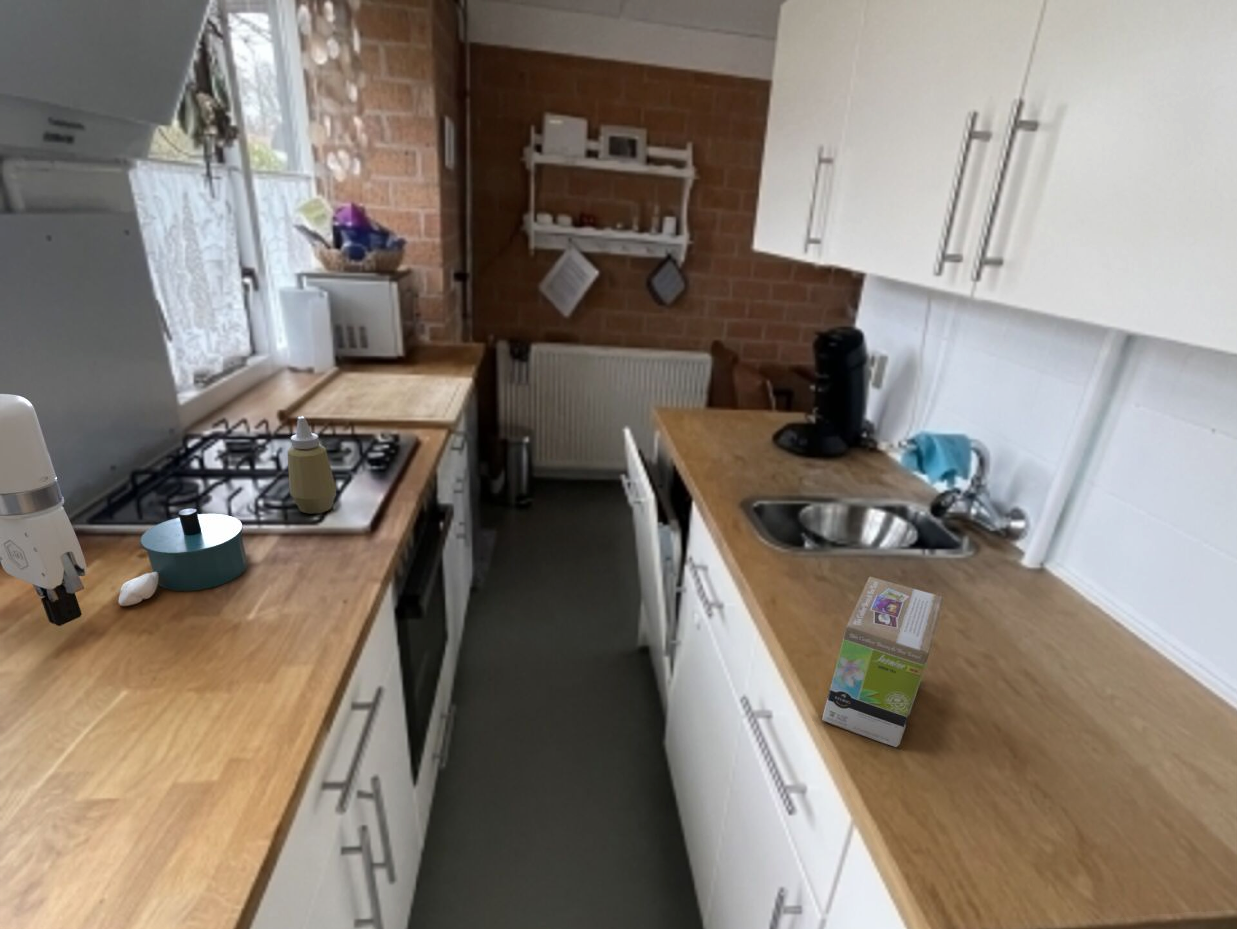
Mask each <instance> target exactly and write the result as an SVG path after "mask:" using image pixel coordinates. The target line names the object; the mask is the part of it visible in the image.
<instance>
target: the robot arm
mask: <svg viewBox="0 0 1237 929" xmlns="http://www.w3.org/2000/svg"><path fill="white" fill-rule="evenodd" d="M64 504H65V499H64V496H63V492H62V490H61V486H60V483H59V479H58V477H57V474H56V472H55V467H54V465H53V462H52V459H51V455H50V452H49V449H48V447H47V444H46V440H45V437H44V434H43V430H42V428H41V425H40V421H39V418H38V414H37V413H36V409H35V407H34V405H33V404H32V402H31V401H29V400H28V399H26V398H25V397H23V396H20V395H17V394H8V393H0V564H1V567H2V569H3V570H4V572H5V573H6V574H8V575H10V576H12V577H14V578H16V579H19V580H21V581H23V582H26V583H29V584H31V585H32V586H33V589H34V590H35V592H36V594H37V595H38V597H40V601H41V603H42V606H43V609H44V612H45V615H46V617H47V620H48V622H49V623H50V624H53V625H55V626H57V627H61V626H64V625H65V624H68V623H70V622H72V621H74V620H76V619H78V618H81V617H82V615H83V613H82V609H81V607H80V604H79V601H78V598H77V595H76V593H78V592H81V591H83V590H85V586H84V584H83V582H82V579H81V578H80V577H85V576H86V575H87V572H88V568H87V563H86V559H85V557H84V553H83V549H82V548H81V545H80V542H79V539H78V537H77V535H76V532H75V529H74V527H73V525H72V523H71V521H70V519H69V516H68V515H67V512H66V511H65V508H64V506H63V505H64Z"/></svg>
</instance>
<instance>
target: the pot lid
mask: <svg viewBox="0 0 1237 929" xmlns="http://www.w3.org/2000/svg"><path fill="white" fill-rule="evenodd" d="M242 532H243V524H242V522H241V521H240V520H239V519H237V518H236V517H233V516H230V515H228V514H227V515H226V514H220V513H219V514H218V513H200V514H199V513H198V511H197V509H196V508H185V509H182V510H180V511H178V517H176V518H173V519H172V518H171V519H169V520H166V521H163V522H161V523H158V524H156V525H153V526H152V527H150V528H149V529H147V530H146V531H145V532H143V534H142V535H141V537H140V545H141V547H142V548H143V549H144V550H145V551H146V552H147V551H149V552H151V553H155V554H160V555H188V554H195V553H201V552H205V551H209V550H213V549H216V548H219V547H221V546H224V545H226V544H228V543H230V542H232V541H233V540H235V539H236V538H237V537H238V536H239V535H240V534H241V535H242Z"/></svg>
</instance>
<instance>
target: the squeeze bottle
mask: <svg viewBox="0 0 1237 929" xmlns="http://www.w3.org/2000/svg"><path fill="white" fill-rule="evenodd" d="M296 424H297V425H296V434H293V435H292V436H290V443H291V447H290V448H289V449H288V450H287V451H286V452H287V453H286V454H287V466H288V467H287V468H288V480H289V481H288V482H289V483H288V484H289V494H290V496H291V498H292V499H293V501H294V502H295V504H296V506H297V507H298V510H299V511H300V512H302V513H304V514H308V515H309V514H321V513H325V512H328V511H329V510H331V509H332V508H333V505H334V501H335V498H336V497H335V496H336V493H337V486H336V482H335V478H334V474H333V471H332V467H331V463H330V459H329V455H328V451H327V449H326V447H325V446H323V445H321V444H320V438H319V434H316V433H313V432H312V431H311V428H310V426H309V424H308V421H307V419H306V417H305V416H303V415H301V416H298V417H297V421H296Z"/></svg>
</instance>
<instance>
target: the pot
mask: <svg viewBox="0 0 1237 929" xmlns="http://www.w3.org/2000/svg"><path fill="white" fill-rule="evenodd" d="M245 549H246V548H245V545H244V541H243V536H242V533H241V534H240V535H239V536H238V537H237V538H236V539H235V540H233V541H232V542H230V543H228V544H226V545H224V546H221V547H219V548H216V549H213V550H209V551H205V552H201V553H195V554H188V555H160V554H155V553H151V552H149V551H147V550H146V552H147V556H148V559H149V563H150V567H151V569H152V572H157V573H158V584H157V585H159V586H160V587H162V588H164V589H166V590H170V591H175V592H176V591H177V592H193V591H201V590H206V589H210V588H215V587H217V586H221V585H223V584H226V583H229V582H231V581H233V580H235V579H236V578H238V577H239V576H240V575H242V574H243V573H244V572H245V570H246V569H247V567H248V566H247V565H248V563H247V562H248V558H247V554H246V550H245Z"/></svg>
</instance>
